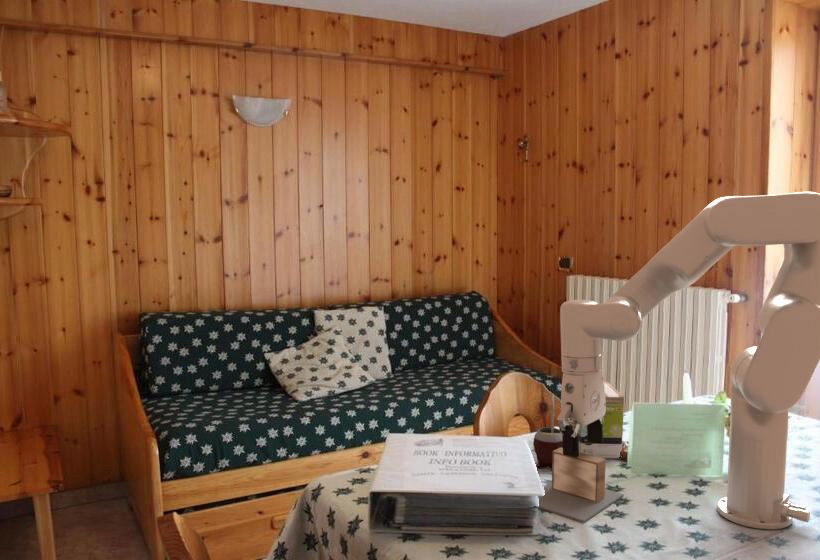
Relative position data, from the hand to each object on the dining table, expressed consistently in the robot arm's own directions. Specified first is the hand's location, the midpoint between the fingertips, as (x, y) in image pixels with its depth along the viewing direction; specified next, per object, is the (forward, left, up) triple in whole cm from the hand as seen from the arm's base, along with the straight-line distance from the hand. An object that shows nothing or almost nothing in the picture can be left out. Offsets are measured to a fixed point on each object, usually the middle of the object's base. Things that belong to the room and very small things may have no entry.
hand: (583, 448), depth 139 cm
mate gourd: (+14, -11, -10) cm, 20 cm away
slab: (+1, 0, -9) cm, 9 cm away
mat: (+1, +2, -10) cm, 10 cm away
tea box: (+12, -28, -10) cm, 32 cm away
